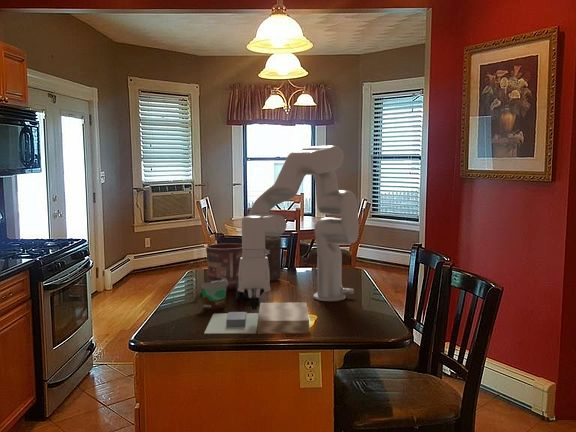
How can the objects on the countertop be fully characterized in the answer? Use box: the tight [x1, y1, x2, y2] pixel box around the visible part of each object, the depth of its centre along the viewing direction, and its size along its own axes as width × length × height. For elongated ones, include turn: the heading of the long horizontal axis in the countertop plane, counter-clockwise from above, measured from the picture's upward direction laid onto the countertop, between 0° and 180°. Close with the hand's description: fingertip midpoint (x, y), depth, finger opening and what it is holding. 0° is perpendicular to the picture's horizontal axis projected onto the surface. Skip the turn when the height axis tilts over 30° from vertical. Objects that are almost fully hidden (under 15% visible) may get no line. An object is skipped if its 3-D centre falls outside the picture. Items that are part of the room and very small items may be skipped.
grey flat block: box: [226, 311, 247, 327], centre depth 174 cm, size 6×9×2 cm, turn 2°
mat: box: [203, 312, 259, 335], centre depth 175 cm, size 16×22×1 cm
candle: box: [265, 236, 282, 282], centre depth 239 cm, size 8×7×20 cm
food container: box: [200, 277, 228, 310], centre depth 195 cm, size 12×6×10 cm, turn 148°
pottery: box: [205, 242, 242, 291], centre depth 227 cm, size 18×18×18 cm
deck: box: [257, 301, 310, 335], centre depth 174 cm, size 16×22×4 cm
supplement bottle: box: [235, 275, 255, 302], centre depth 207 cm, size 7×7×12 cm
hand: (254, 308), depth 174 cm, fingers closed
